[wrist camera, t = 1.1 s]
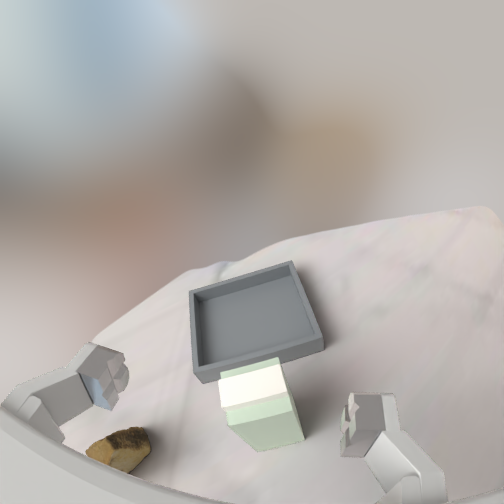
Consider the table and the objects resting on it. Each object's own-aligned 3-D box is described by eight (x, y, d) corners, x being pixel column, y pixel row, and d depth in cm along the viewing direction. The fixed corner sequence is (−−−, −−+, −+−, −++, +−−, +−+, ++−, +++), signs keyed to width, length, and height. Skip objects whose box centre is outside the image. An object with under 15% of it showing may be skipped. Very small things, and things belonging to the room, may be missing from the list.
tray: (294, 274, 54) (291, 260, 52) (324, 349, 42) (322, 336, 40) (196, 304, 54) (188, 291, 52) (202, 383, 42) (193, 372, 40)
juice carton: (293, 399, 37) (276, 350, 29) (305, 440, 33) (290, 406, 24) (249, 411, 37) (216, 366, 29) (257, 452, 33) (223, 422, 24)
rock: (102, 508, 26) (155, 487, 28) (55, 465, 26) (104, 439, 27) (117, 465, 37) (162, 442, 38) (79, 427, 36) (123, 401, 38)
